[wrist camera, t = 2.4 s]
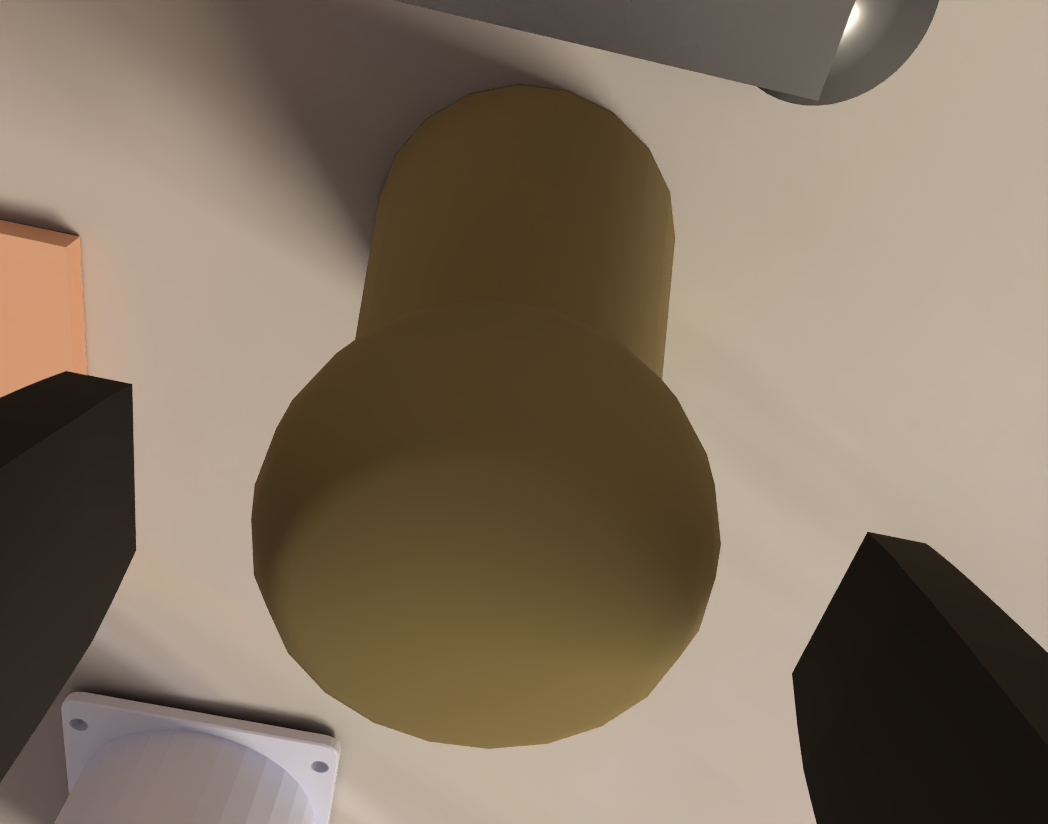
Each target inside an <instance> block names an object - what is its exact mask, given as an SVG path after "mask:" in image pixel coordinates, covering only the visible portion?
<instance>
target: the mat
mask: <svg viewBox="0 0 1048 824" xmlns="http://www.w3.org/2000/svg"><path fill="white" fill-rule="evenodd" d="M65 371H69V372H74V373H79V374H84V375H87V358H86V339H85V321H84V302H83V283H82V265H81V246H80V237H79V236H74V235H70V234H65V233H60V232H56V231H51V230H46V229H41V228H37V227H32V226H27V225H23V224H18V223H13V222H9V221H4V220H0V397H2V396H5V395H7V394H9V393H12V392H14V391H16V390H19V389H21V388H23V387H26V386H28V385H31V384H33V383H35V382H38V381H40V380H43V379H45V378H48V377H51V376H54V375H56V374H59V373H62V372H65Z"/></svg>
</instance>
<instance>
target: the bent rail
mask: <svg viewBox="0 0 1048 824" xmlns="http://www.w3.org/2000/svg"><path fill="white" fill-rule="evenodd" d="M395 1H399V2H403V3H408V4H412V5H416V6H420V7H425V8H429V9H433V10H437V11H441V12H446V13H450V14H454V15H458V16H462V17H467V18H471V19H475V20H479V21H484V22H488V23H492V24H496V25H500V26H505V27H509V28H513V29H517V30H522V31H526V32H530V33H534V34H538V35H543V36H547V37H551V38H555V39H560V40H564V41H568V42H572V43H576V44H581V45H585V46H589V47H593V48H598V49H602V50H606V51H610V52H614V53H619V54H623V55H627V56H631V57H636V58H640V59H644V60H648V61H652V62H657V63H661V64H665V65H669V66H673V67H678V68H682V69H686V70H690V71H695V72H699V73H703V74H707V75H711V76H716V77H720V78H724V79H728V80H733V81H737V82H741V83H745V84H749V85H754V86H757V87H758V88H760V89H761V90H763V91H764V92H766V93H767V94H769V95H771V96H773V97H775V98H778V99H780V100H783V101H786V102H790V103H794V104H800V105H817V106H818V105H827V104H834V103H838V102H842V101H846V100H849V99H851V98H854V97H857V96H859V95H861V94H863V93H865V92H867V91H869V90H871V89H873V88H874V87H876V86H877V85H879V84H880V83H882V82H883V81H885V80H886V79H887V78H888V77H890V76H891V75H892V74H893V73H894V72H896V71H897V70H898V69H899V68H900V67H901V66H902V65H903V64H904V63H905V61H906V60H907V59H908V58H909V57H910V56H911V54H912V53H913V52H914V50H915V49H916V48H917V46H918V45H919V43H920V42H921V40H922V39H923V37H924V35H925V34H926V32H927V30H928V28H929V26H930V23H931V21H932V19H933V17H934V14H935V11H936V8H937V5H938V2H939V0H395Z"/></svg>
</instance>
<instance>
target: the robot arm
mask: <svg viewBox="0 0 1048 824" xmlns="http://www.w3.org/2000/svg"><path fill="white" fill-rule="evenodd" d="M135 551H136V528H135V486H134V443H133V401H132V384H129V383H124V382H119V381H114V380H109V379H104V378H99V377H94V376H89V375H84V374H79V373H74V372H69V371H65V372H62V373H59V374H56V375H54V376H51V377H48V378H45V379H43V380H40V381H38V382H35V383H33V384H31V385H28V386H26V387H23V388H21V389H19V390H16V391H14V392H12V393H9V394H7V395H5V396H2V397H0V782H1V781H2V779H3V778H4V776H5V775H6V773H7V772H8V770H9V769H10V767H11V766H12V764H13V762H14V761H15V759H16V758H17V756H18V755H19V753H20V752H21V750H22V749H23V747H24V746H25V744H26V743H27V741H28V740H29V738H30V737H31V735H32V734H33V732H34V731H35V729H36V728H37V726H38V725H39V723H40V722H41V720H42V718H43V717H44V715H45V714H46V712H47V711H48V709H49V708H50V706H51V705H52V703H53V702H54V700H55V698H56V697H57V695H58V694H59V692H60V691H61V689H62V688H63V686H64V685H65V683H66V681H67V680H68V678H69V677H70V675H71V674H72V672H73V671H74V669H75V668H76V666H77V664H78V663H79V661H80V660H81V658H82V657H83V655H84V653H85V652H86V650H87V649H88V647H89V646H90V644H91V642H92V641H93V639H94V637H95V635H96V633H97V631H98V629H99V627H100V625H101V623H102V621H103V619H104V617H105V615H106V613H107V611H108V609H109V607H110V605H111V603H112V601H113V599H114V596H115V594H116V592H117V590H118V588H119V586H120V584H121V581H122V579H123V577H124V575H125V573H126V571H127V569H128V566H129V564H130V562H131V560H132V558H133V556H134V553H135ZM792 677H793V687H794V697H795V706H796V716H797V726H798V733H799V740H800V748H801V755H802V762H803V769H804V774H805V778H806V782H807V786H808V790H809V795H810V799H811V803H812V807H813V811H814V814H815V818H816V822H817V824H1048V653H1047V652H1046V651H1045V650H1044V649H1043V648H1042V647H1041V646H1040V645H1039V644H1038V643H1037V642H1036V641H1035V640H1034V639H1033V638H1032V637H1030V636H1029V635H1028V634H1027V633H1026V632H1025V631H1024V630H1023V629H1022V628H1021V627H1020V626H1019V625H1018V624H1017V623H1016V622H1015V621H1014V620H1013V619H1011V618H1010V617H1009V616H1008V615H1007V614H1006V613H1005V612H1004V611H1003V610H1002V609H1001V608H1000V607H999V606H998V605H997V604H995V603H994V602H993V601H992V600H991V599H990V598H989V597H988V596H987V595H986V594H985V593H983V592H982V591H981V590H980V589H979V588H978V587H977V586H976V585H975V584H974V583H973V582H972V581H970V580H969V579H968V578H967V577H966V576H965V575H964V574H963V573H961V572H960V571H959V570H958V569H957V568H956V567H955V566H953V565H952V564H951V563H950V562H949V561H947V560H946V559H945V558H944V557H943V556H941V555H940V554H939V553H938V552H936V551H935V550H934V549H933V548H931V547H930V546H929V545H927V544H926V543H921V542H916V541H911V540H906V539H901V538H896V537H891V536H886V535H881V534H876V533H871V532H867V534H866V536H865V538H864V540H863V542H862V544H861V545H860V547H859V549H858V551H857V553H856V555H855V557H854V559H853V560H852V562H851V564H850V566H849V568H848V570H847V572H846V574H845V575H844V577H843V579H842V581H841V583H840V585H839V587H838V589H837V590H836V592H835V594H834V596H833V598H832V600H831V602H830V604H829V605H828V607H827V609H826V611H825V613H824V615H823V617H822V619H821V620H820V622H819V624H818V626H817V628H816V630H815V632H814V633H813V635H812V637H811V639H810V641H809V643H808V645H807V647H806V648H805V650H804V652H803V654H802V656H801V658H800V660H799V662H798V663H797V665H796V667H795V669H794V671H793V673H792ZM61 715H62V726H63V736H64V747H65V758H66V768H67V779H68V790H69V796H68V798H67V800H66V802H65V804H64V805H63V807H62V809H61V811H60V813H59V815H58V817H57V818H56V820H55V822H54V824H329V821H330V815H331V809H332V802H333V796H334V790H335V784H336V778H337V771H338V765H339V759H340V753H341V745H340V744H339V742H338V741H337V740H336V739H334V738H333V737H331V736H328V735H323V734H318V733H312V732H307V731H301V730H295V729H290V728H284V727H278V726H273V725H267V724H262V723H256V722H250V721H245V720H239V719H233V718H228V717H222V716H216V715H211V714H205V713H200V712H194V711H188V710H183V709H177V708H171V707H166V706H160V705H155V704H149V703H143V702H138V701H132V700H126V699H121V698H115V697H110V696H104V695H98V694H93V693H87V692H73V693H70V694H69V695H68V696H67V697H66V699H65V700H64V702H63V704H62V706H61Z"/></svg>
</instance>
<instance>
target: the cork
mask: <svg viewBox="0 0 1048 824" xmlns="http://www.w3.org/2000/svg"><path fill="white" fill-rule="evenodd" d="M674 242H675V234H674V225H673V216H672V207H671V198H670V191H669V189H668V187H667V185H666V183H665V181H664V179H663V177H662V174H661V172H660V170H659V168H658V166H657V164H656V162H655V160H654V158H653V156H652V153H651V151H650V149H649V148H648V147H647V146H646V145H645V144H644V143H643V142H642V141H641V140H640V139H639V138H638V137H637V136H636V135H635V134H634V133H633V132H632V131H631V130H630V129H629V128H628V127H627V126H626V125H625V124H624V123H623V122H622V121H621V120H620V119H619V118H618V117H617V116H616V115H615V114H614V113H612V112H610V111H608V110H606V109H604V108H602V107H600V106H598V105H596V104H594V103H592V102H590V101H588V100H586V99H584V98H582V97H580V96H578V95H576V94H574V93H572V92H570V91H564V90H556V89H549V88H542V87H535V86H528V85H521V84H518V85H513V86H508V87H503V88H498V89H492V90H487V91H482V92H477V93H472V94H469V95H467V96H465V97H463V98H462V99H460V100H458V101H456V102H455V103H453V104H451V105H449V106H448V107H446V108H444V109H442V110H441V111H439V112H437V113H436V114H434V115H432V116H430V117H429V118H427V119H426V120H425V121H424V122H423V124H422V125H421V126H420V127H419V128H418V129H417V131H416V132H415V133H414V134H413V135H412V136H411V138H410V139H409V140H408V141H407V142H406V143H405V145H404V146H403V147H402V148H401V149H400V150H399V151H398V153H397V154H396V155H395V158H394V161H393V163H392V166H391V168H390V171H389V173H388V176H387V178H386V181H385V184H384V186H383V189H382V191H381V194H380V196H379V201H378V207H377V213H376V219H375V225H374V231H373V237H372V243H371V249H370V255H369V260H368V266H367V272H366V278H365V284H364V290H363V296H362V302H361V308H360V314H359V320H358V326H357V332H356V338H355V340H354V341H353V342H352V343H350V344H349V345H347V346H346V347H345V348H343V349H342V350H340V351H339V352H338V353H336V354H335V355H334V356H333V357H332V359H331V360H330V361H329V362H328V363H327V364H326V365H325V366H324V367H323V368H322V369H321V370H320V371H319V372H318V373H317V374H316V376H315V377H314V378H313V379H312V380H311V381H310V382H309V383H308V384H307V385H306V386H305V387H304V388H303V389H302V390H301V391H300V393H299V394H298V395H297V396H296V397H295V398H294V399H293V400H292V402H291V403H290V405H289V407H288V409H287V410H286V412H285V414H284V416H283V418H282V419H281V421H280V423H279V425H278V426H277V428H276V431H275V433H274V436H273V439H272V441H271V444H270V446H269V449H268V452H267V454H266V457H265V460H264V462H263V465H262V467H261V470H260V473H259V475H258V478H257V481H256V483H255V488H254V498H253V508H252V518H251V522H252V543H253V564H254V576H255V579H256V581H257V584H258V586H259V589H260V591H261V593H262V596H263V598H264V601H265V603H266V606H267V608H268V610H269V612H270V615H271V617H272V619H273V621H274V623H275V625H276V628H277V630H278V632H279V634H280V636H281V639H282V641H283V643H284V645H285V647H286V650H287V652H288V653H289V654H290V655H291V657H292V658H293V659H294V660H295V661H296V662H297V663H298V664H299V665H300V666H301V667H302V668H303V669H304V670H305V672H306V673H307V674H308V675H309V676H310V677H311V678H312V679H313V680H314V681H315V682H316V683H317V684H318V685H319V686H320V688H321V689H322V690H323V691H324V692H325V693H327V694H328V695H330V696H332V697H333V698H335V699H336V700H338V701H340V702H341V703H343V704H345V705H346V706H348V707H349V708H351V709H353V710H354V711H356V712H357V713H359V714H361V715H362V716H364V717H366V718H367V719H369V720H370V721H372V722H374V723H377V724H379V725H382V726H385V727H388V728H391V729H394V730H397V731H400V732H403V733H406V734H409V735H412V736H415V737H418V738H421V739H423V740H426V741H429V742H437V743H445V744H454V745H462V746H470V747H479V748H487V749H492V748H503V747H514V746H526V745H537V744H548V743H551V742H554V741H557V740H560V739H563V738H566V737H570V736H573V735H576V734H579V733H582V732H585V731H588V730H591V729H594V728H597V727H601V726H603V725H604V724H606V723H607V722H609V721H610V720H612V719H614V718H615V717H617V716H618V715H620V714H621V713H623V712H624V711H626V710H628V709H629V708H631V707H632V706H634V705H635V704H637V703H638V702H640V701H641V700H643V699H645V698H646V697H647V696H648V695H649V694H650V693H651V691H652V690H653V689H654V688H655V686H656V685H657V684H658V683H659V682H660V680H661V679H662V678H663V677H664V675H665V674H666V673H667V672H668V670H669V669H670V668H671V667H672V666H673V664H674V663H675V662H676V661H677V659H678V658H679V657H680V655H681V654H682V653H683V651H684V650H685V649H686V647H687V646H688V645H689V643H690V642H691V641H692V639H693V638H694V636H695V635H696V634H697V632H698V631H699V628H700V625H701V622H702V619H703V616H704V613H705V609H706V606H707V603H708V600H709V597H710V594H711V590H712V587H713V584H714V581H715V578H716V571H717V565H718V559H719V552H720V546H721V542H720V532H719V522H718V512H717V502H716V493H715V484H714V480H713V476H712V473H711V469H710V465H709V461H708V457H707V454H706V452H705V450H704V448H703V446H702V444H701V442H700V441H699V439H698V437H697V435H696V433H695V431H694V429H693V427H692V426H691V424H690V422H689V420H688V418H687V416H686V414H685V412H684V411H683V409H682V407H681V405H680V403H679V401H678V399H677V398H676V396H675V395H674V394H673V393H672V392H671V390H670V389H669V388H668V387H667V385H666V384H665V383H664V382H663V381H662V374H663V363H664V352H665V341H666V330H667V319H668V308H669V297H670V286H671V275H672V264H673V253H674Z"/></svg>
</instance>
